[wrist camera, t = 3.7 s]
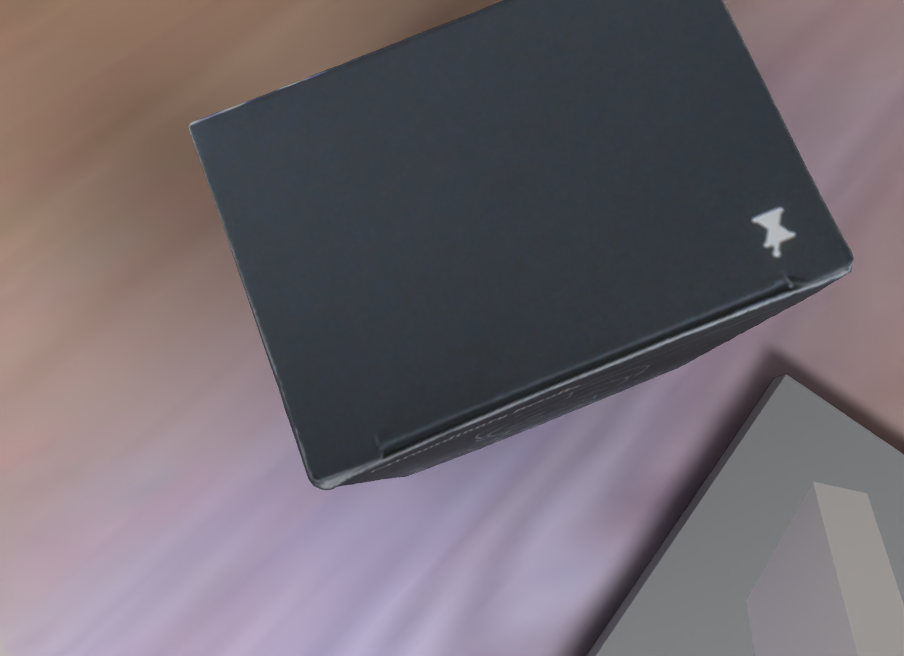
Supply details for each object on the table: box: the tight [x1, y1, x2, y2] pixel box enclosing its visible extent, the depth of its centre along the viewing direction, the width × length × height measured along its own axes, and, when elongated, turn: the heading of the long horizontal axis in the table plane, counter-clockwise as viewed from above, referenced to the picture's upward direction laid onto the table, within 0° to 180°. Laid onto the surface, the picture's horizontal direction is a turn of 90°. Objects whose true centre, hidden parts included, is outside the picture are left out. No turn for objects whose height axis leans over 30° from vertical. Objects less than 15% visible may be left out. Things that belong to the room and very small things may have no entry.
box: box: [189, 0, 853, 490], centre depth 16 cm, size 8×6×11 cm
